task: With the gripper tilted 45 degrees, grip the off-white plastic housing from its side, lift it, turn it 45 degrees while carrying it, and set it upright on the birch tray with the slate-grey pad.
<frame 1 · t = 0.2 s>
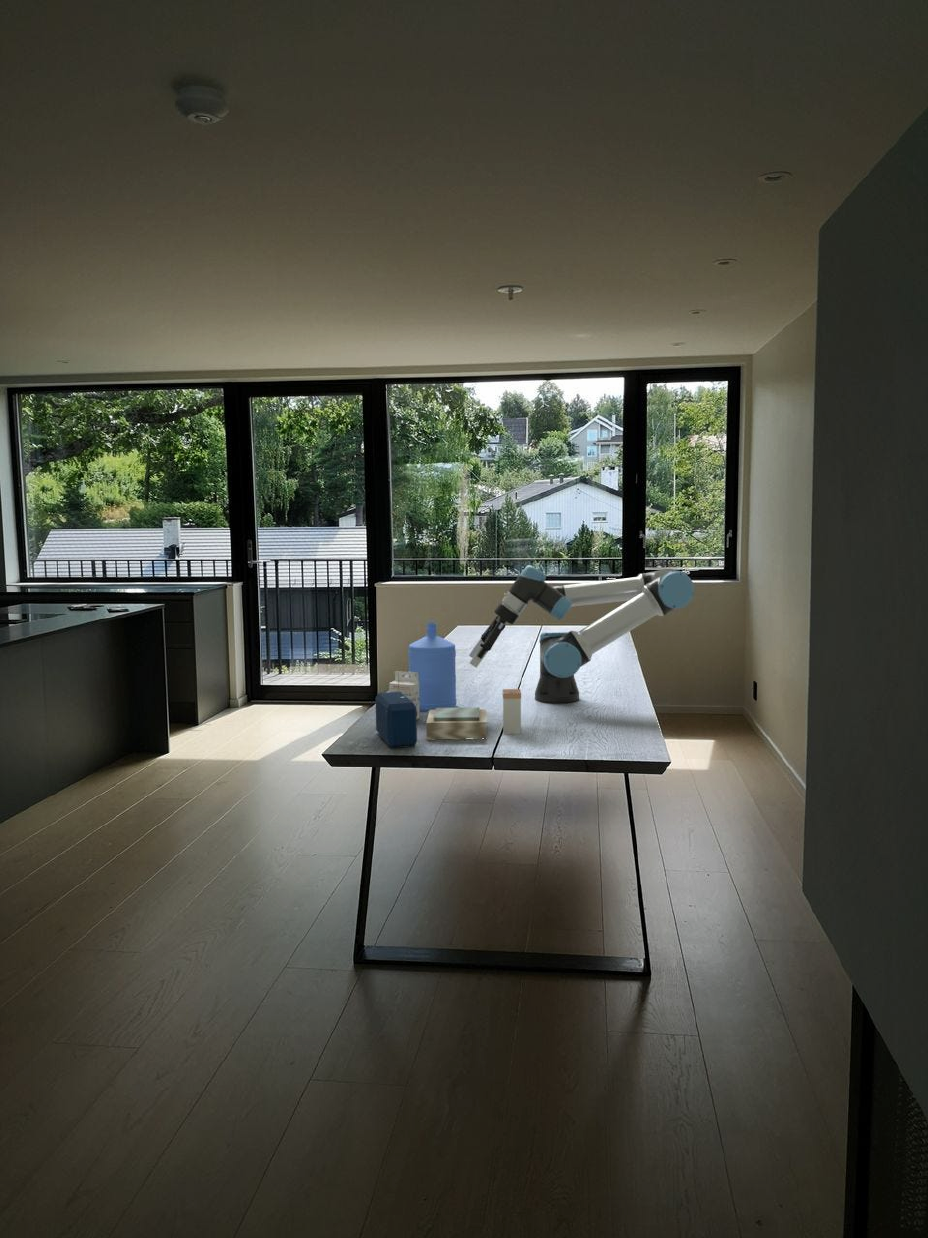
hand: (472, 661, 301), 15 cm above the table, tool tilted 35°, fingers open, 13 cm apart
water jug: (432, 707, 305), on the table
ink cartridge box: (404, 719, 288), on the table
radio: (397, 740, 262), on the table
birch tray: (457, 732, 270), on the table
housing: (511, 731, 270), on the table
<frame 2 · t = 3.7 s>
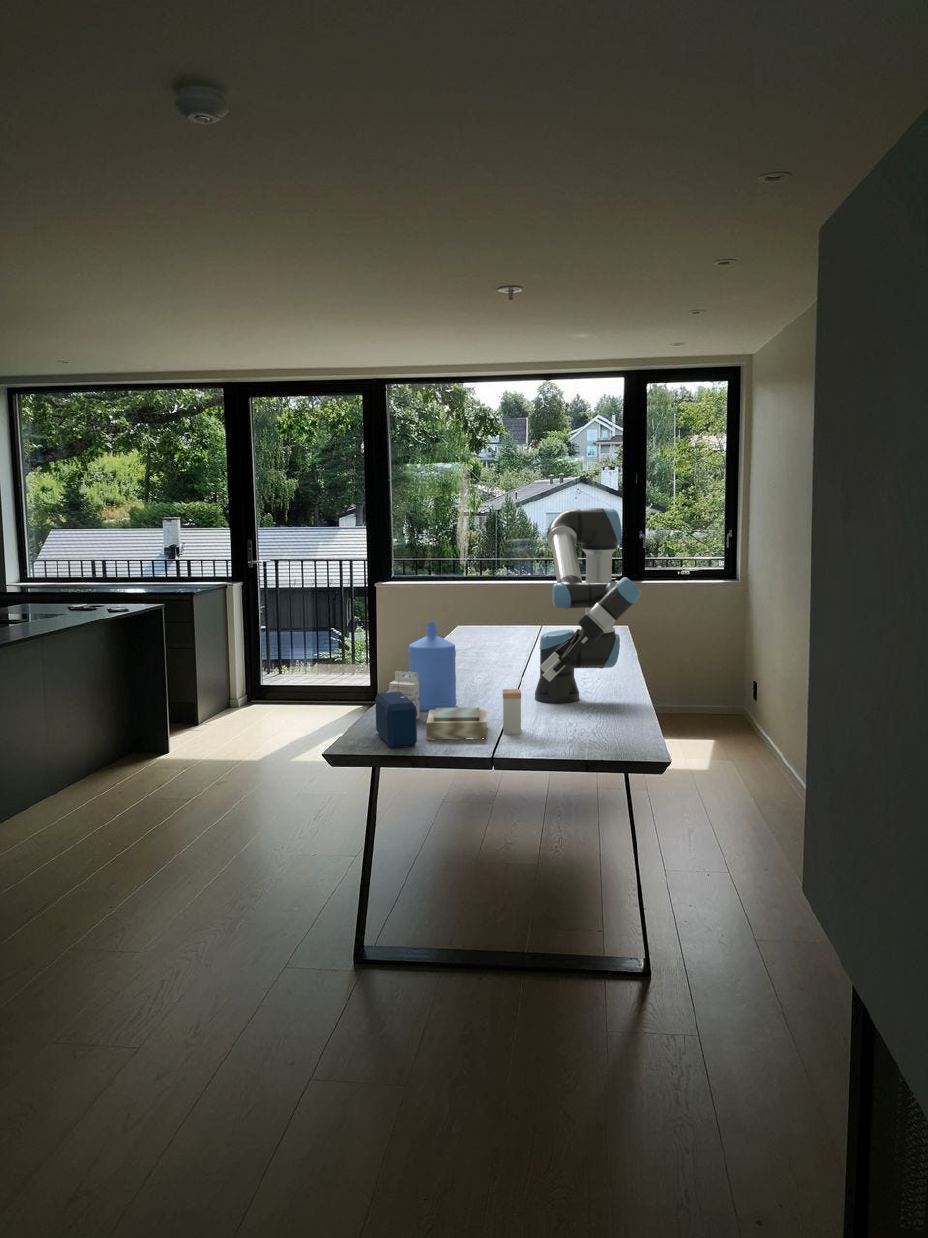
hand: (544, 674, 268), 17 cm above the table, tool tilted 45°, fingers open, 13 cm apart
nothing on the table moved.
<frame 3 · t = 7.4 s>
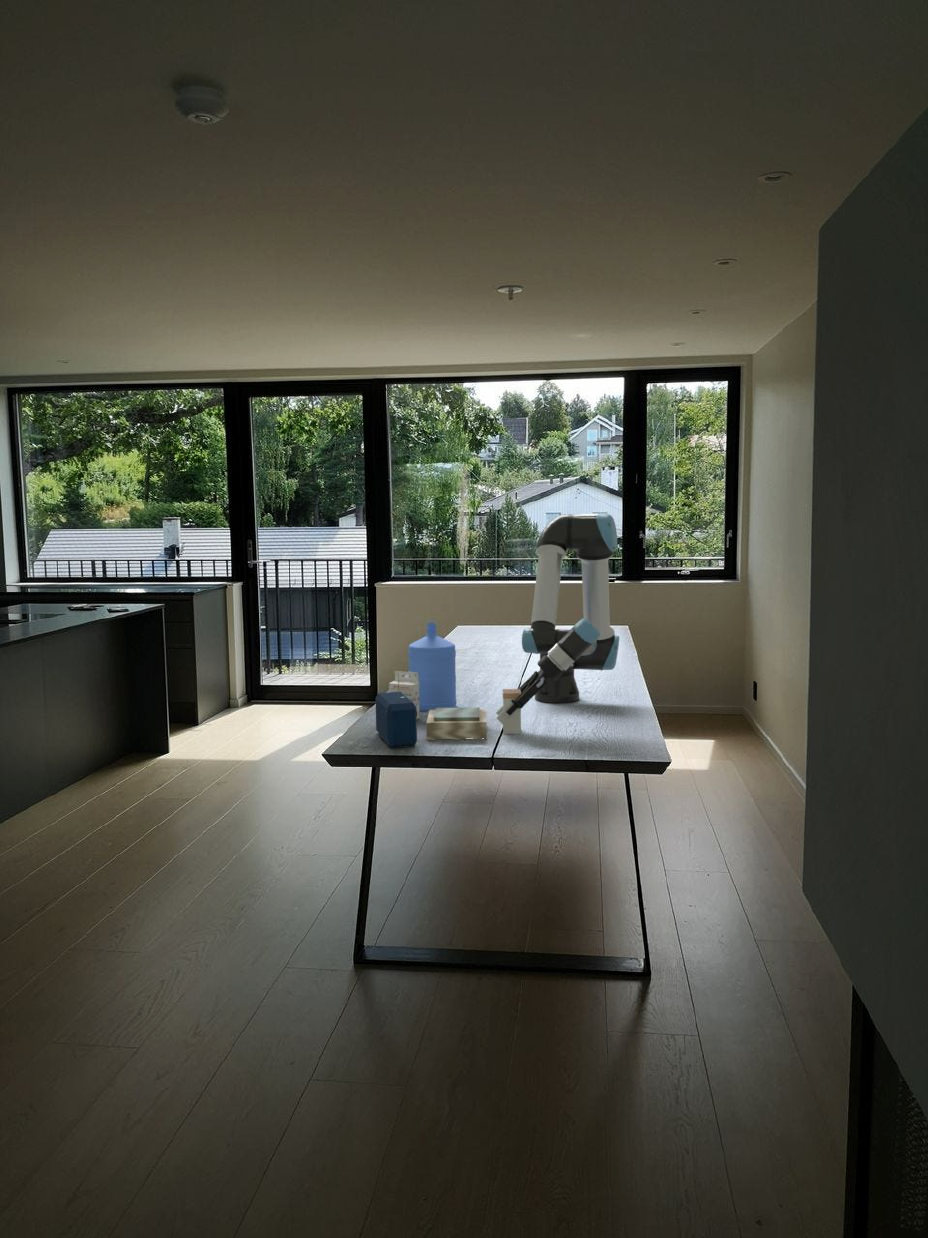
hand: (499, 718, 270), 4 cm above the table, tool tilted 45°, fingers closed on housing, 6 cm apart
housing: (511, 731, 270), on the table, touching gripper
everything else where it was.
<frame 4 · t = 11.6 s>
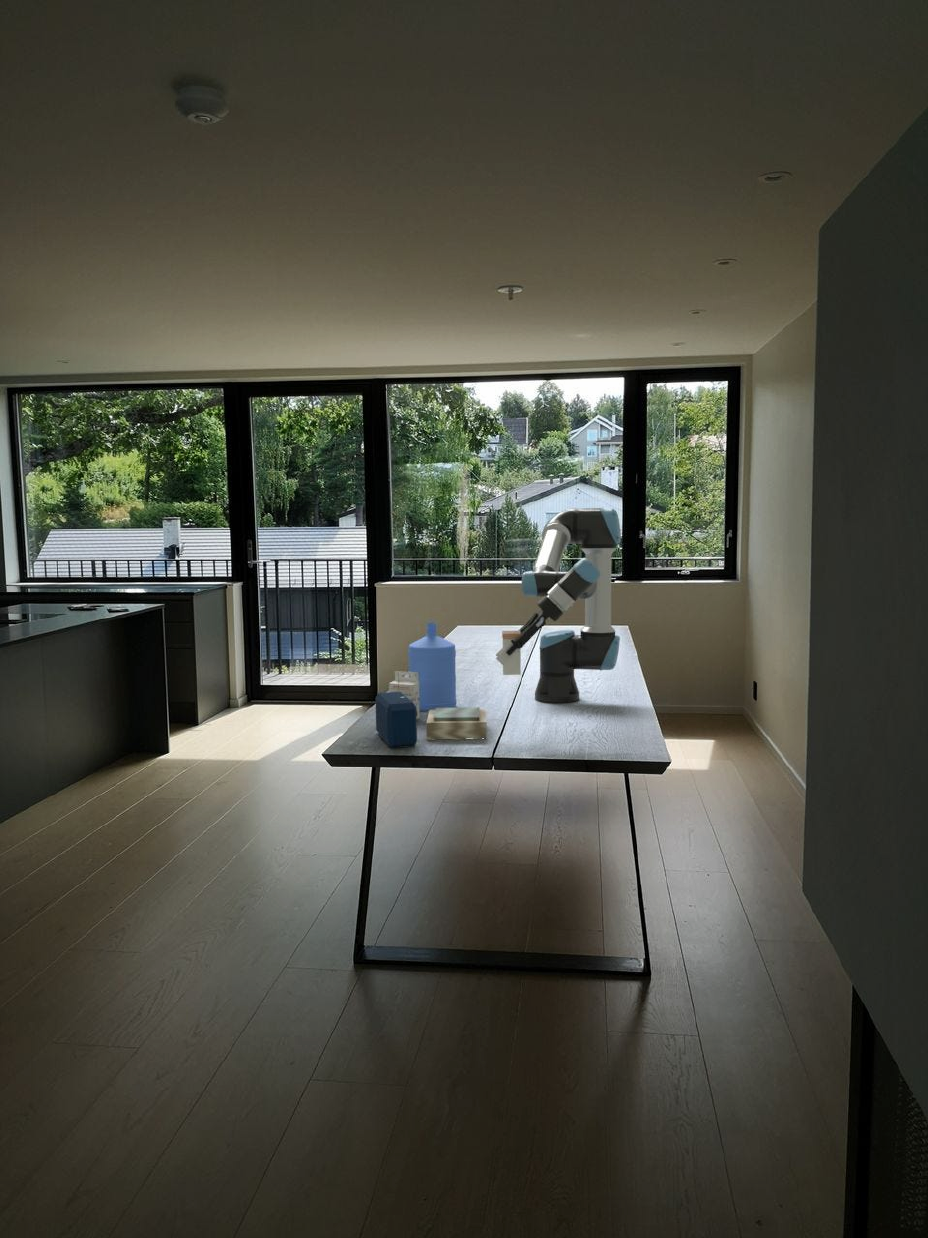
hand: (499, 659, 268), 21 cm above the table, tool tilted 45°, fingers closed on housing, 6 cm apart
housing: (511, 672, 268), point 17 cm above the table, touching gripper
everything else where it was.
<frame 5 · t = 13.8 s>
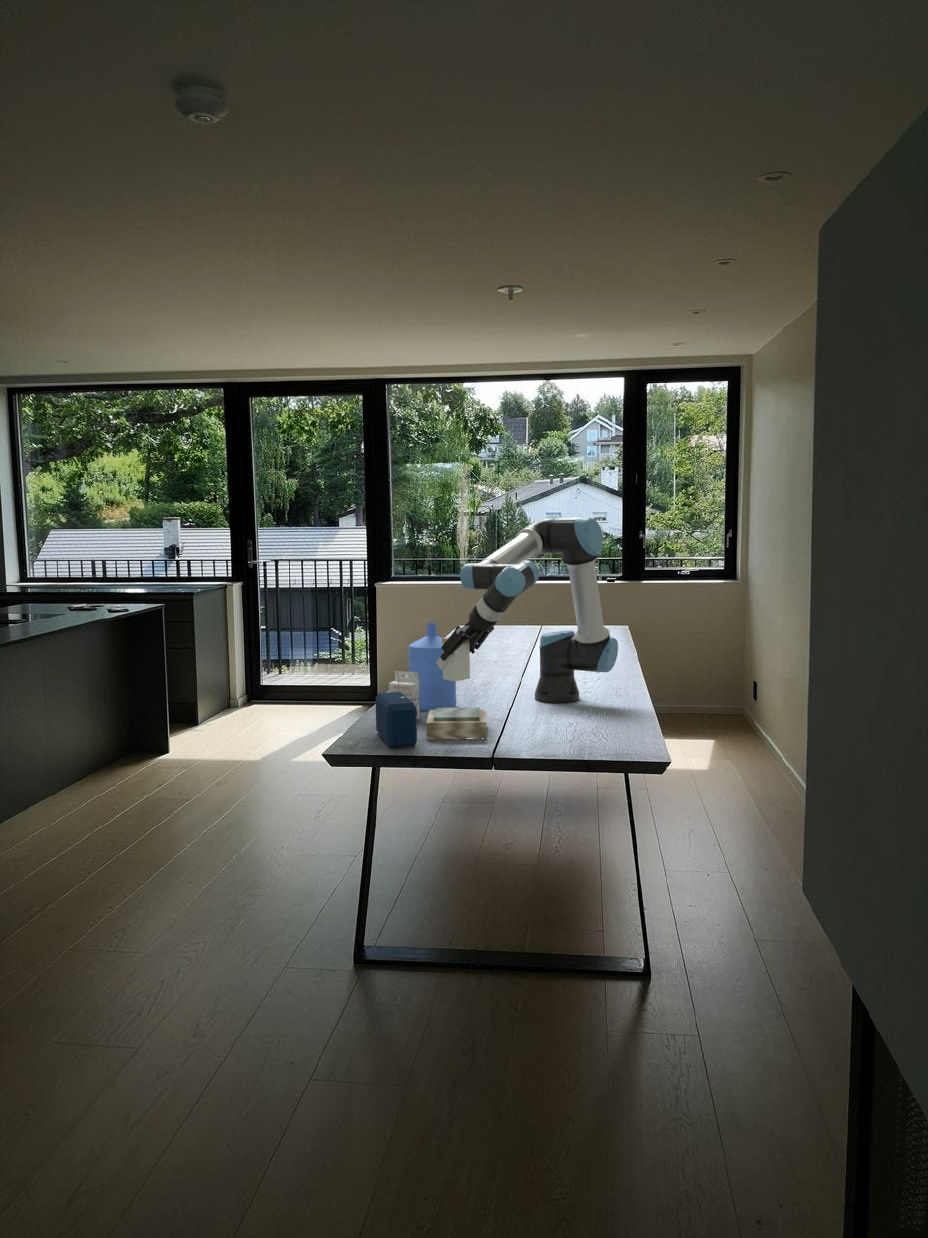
hand: (447, 664, 270), 20 cm above the table, tool tilted 45°, fingers closed on housing, 6 cm apart
housing: (456, 678, 268), point 16 cm above the table, touching gripper
everything else where it was.
when the fingers open (11 cm above the table, at t = 15.9 s): housing drops 1 cm, resting on birch tray.
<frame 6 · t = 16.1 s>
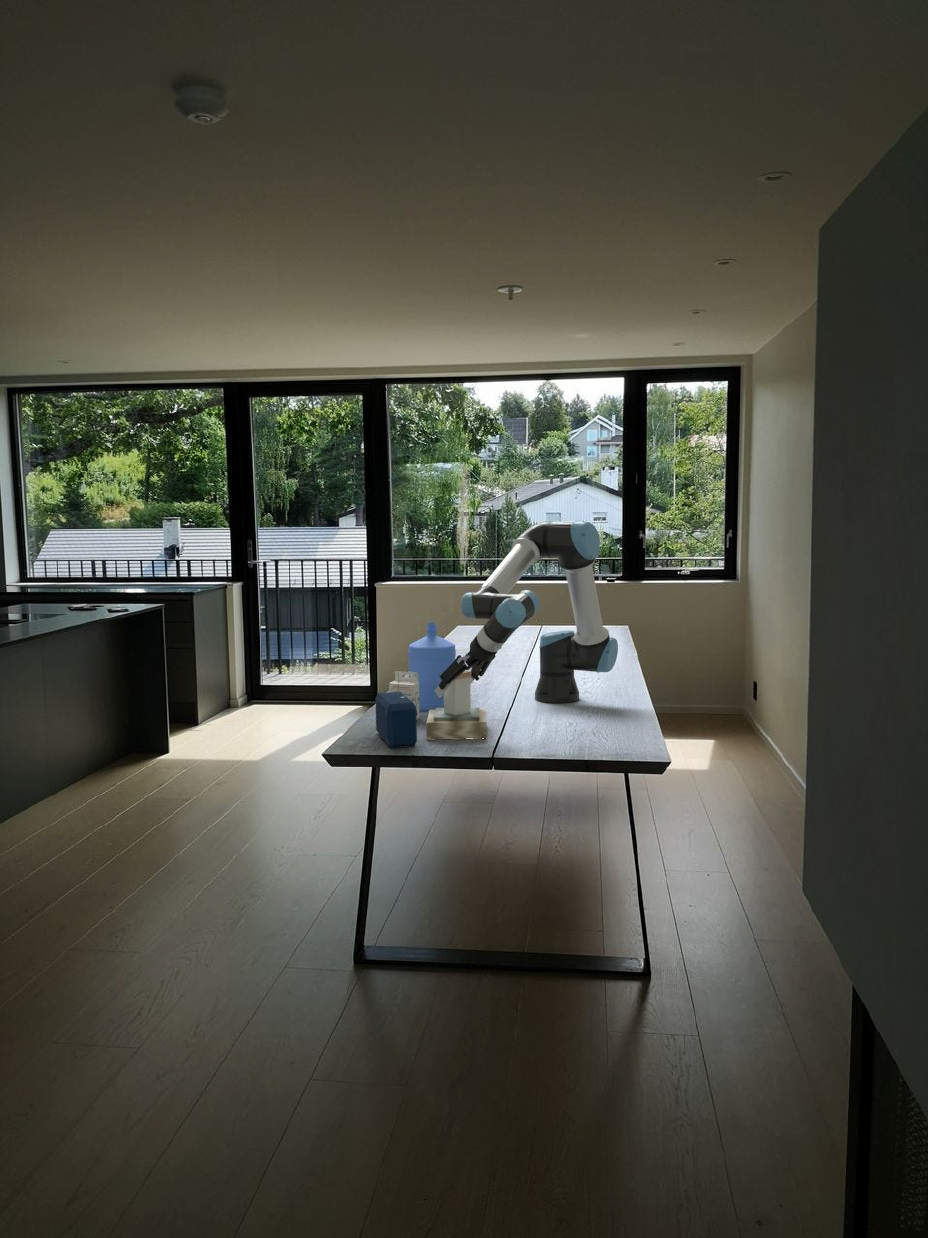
hand: (449, 691, 271), 12 cm above the table, tool tilted 45°, fingers open, 8 cm apart
housing: (457, 712, 269), point 6 cm above the table, touching birch tray
everything else where it was.
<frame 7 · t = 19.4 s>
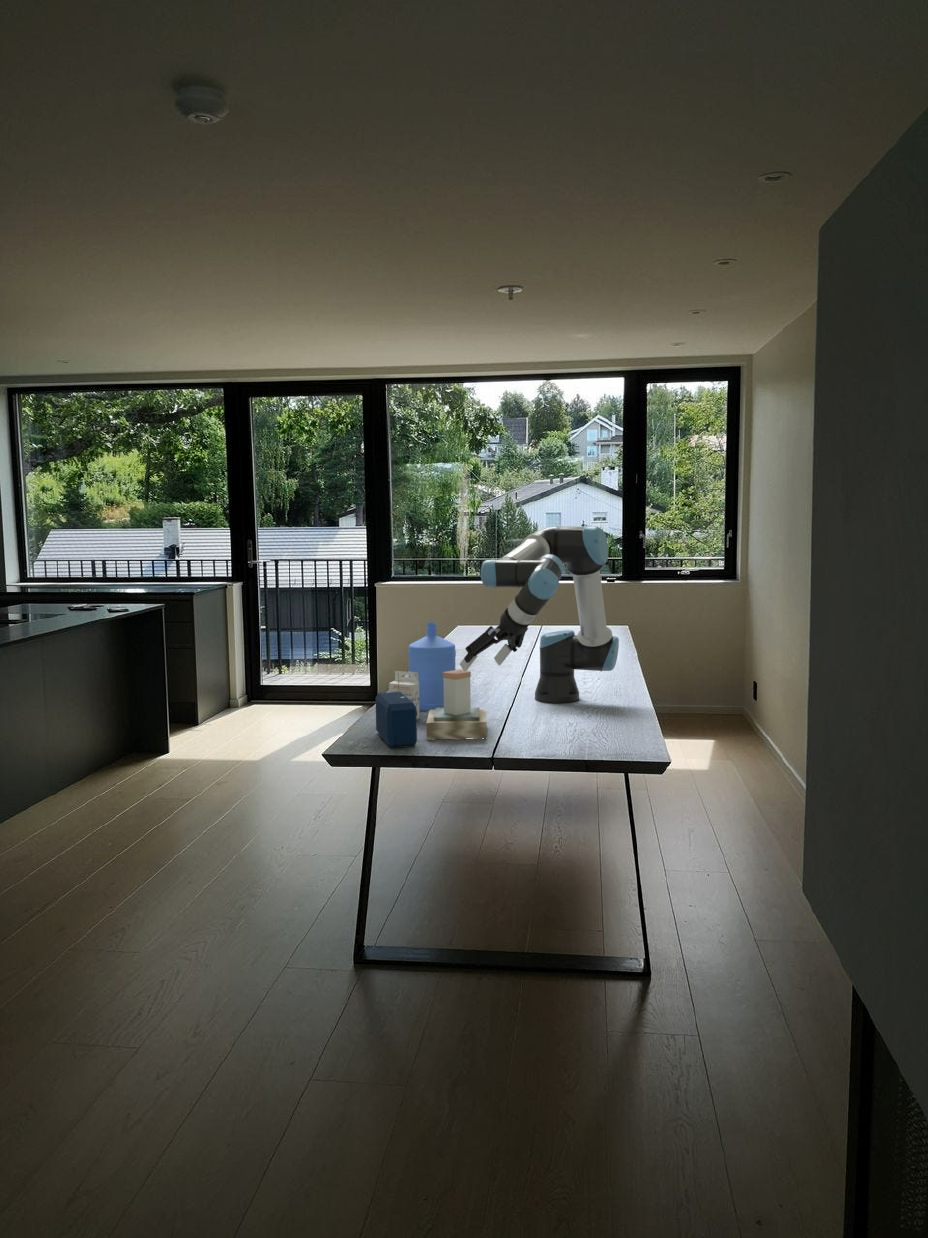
hand: (480, 664, 261), 21 cm above the table, tool tilted 45°, fingers open, 13 cm apart
nothing on the table moved.
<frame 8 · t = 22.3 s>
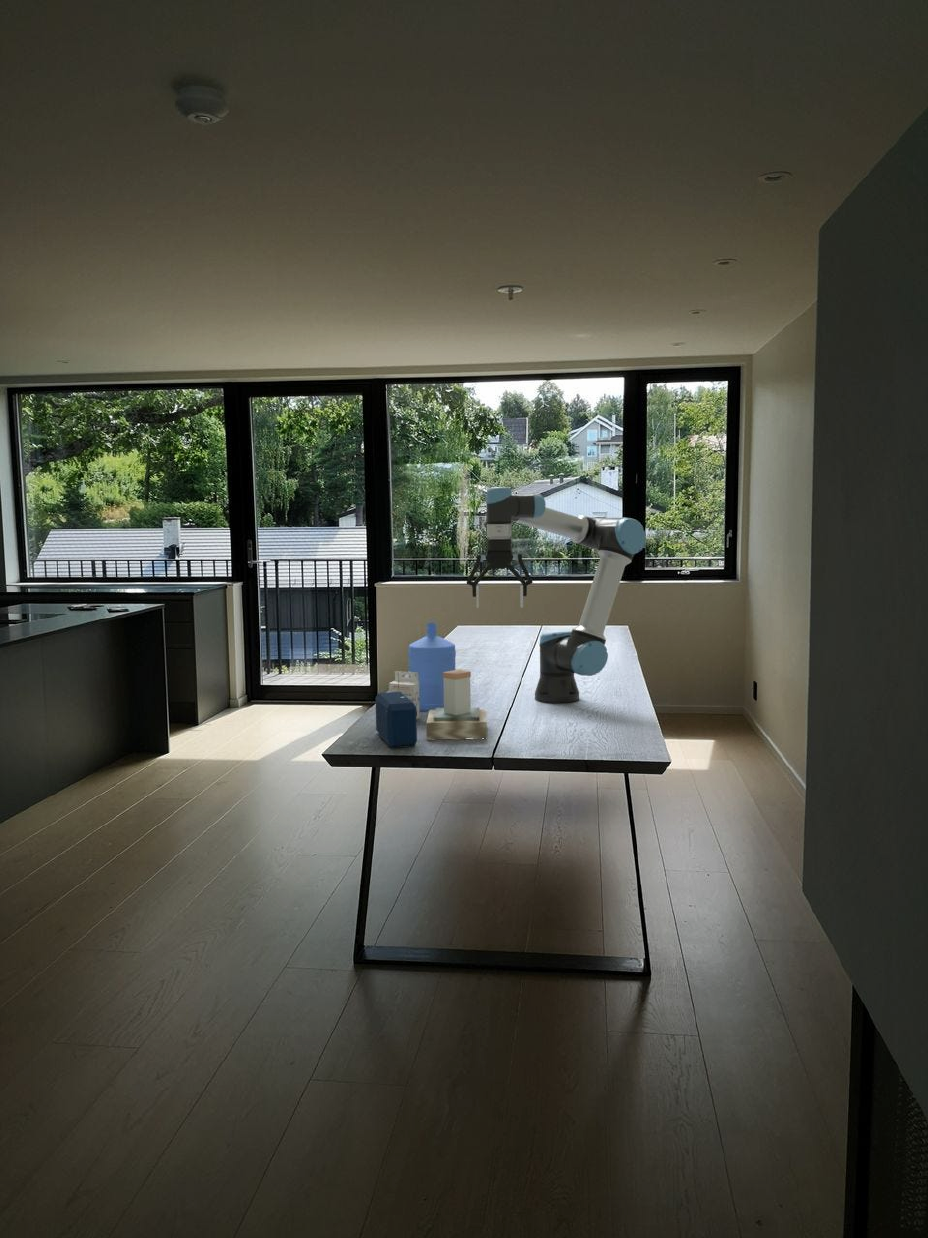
hand: (499, 607, 284), 35 cm above the table, tool pointing down, fingers open, 13 cm apart
nothing on the table moved.
at the end: housing inside the target area on the birch tray (0.0 cm from its centre), point 6.0 cm above the birch tray's base; housing tilted 0°; the gripper is holding nothing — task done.
